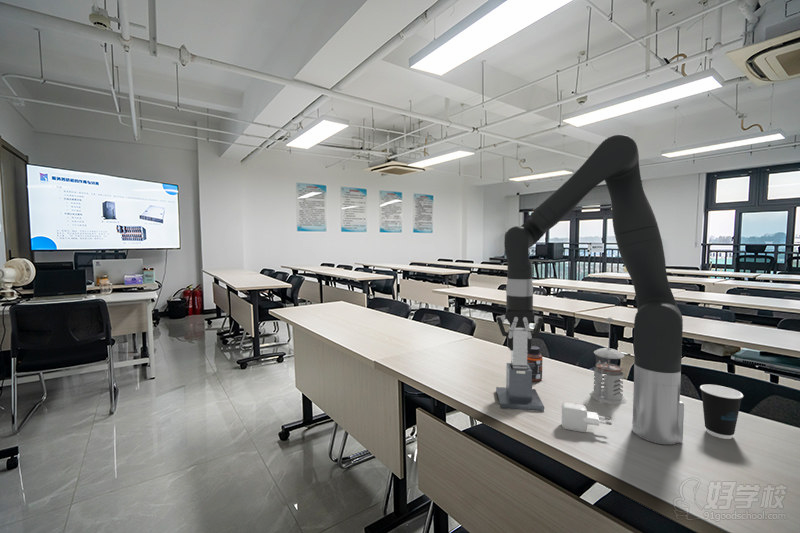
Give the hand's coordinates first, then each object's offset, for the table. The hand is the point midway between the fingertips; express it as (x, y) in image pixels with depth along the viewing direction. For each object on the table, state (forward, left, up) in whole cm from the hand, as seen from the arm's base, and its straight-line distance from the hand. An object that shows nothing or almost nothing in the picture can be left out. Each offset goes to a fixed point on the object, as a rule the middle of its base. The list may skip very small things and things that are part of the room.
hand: (519, 349), depth 106 cm
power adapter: (-14, +15, -16) cm, 26 cm away
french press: (-27, -6, -16) cm, 32 cm away
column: (0, 0, -12) cm, 12 cm away
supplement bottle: (-8, -19, -16) cm, 26 cm away
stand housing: (0, 0, -16) cm, 16 cm away
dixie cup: (-46, +12, -16) cm, 50 cm away
